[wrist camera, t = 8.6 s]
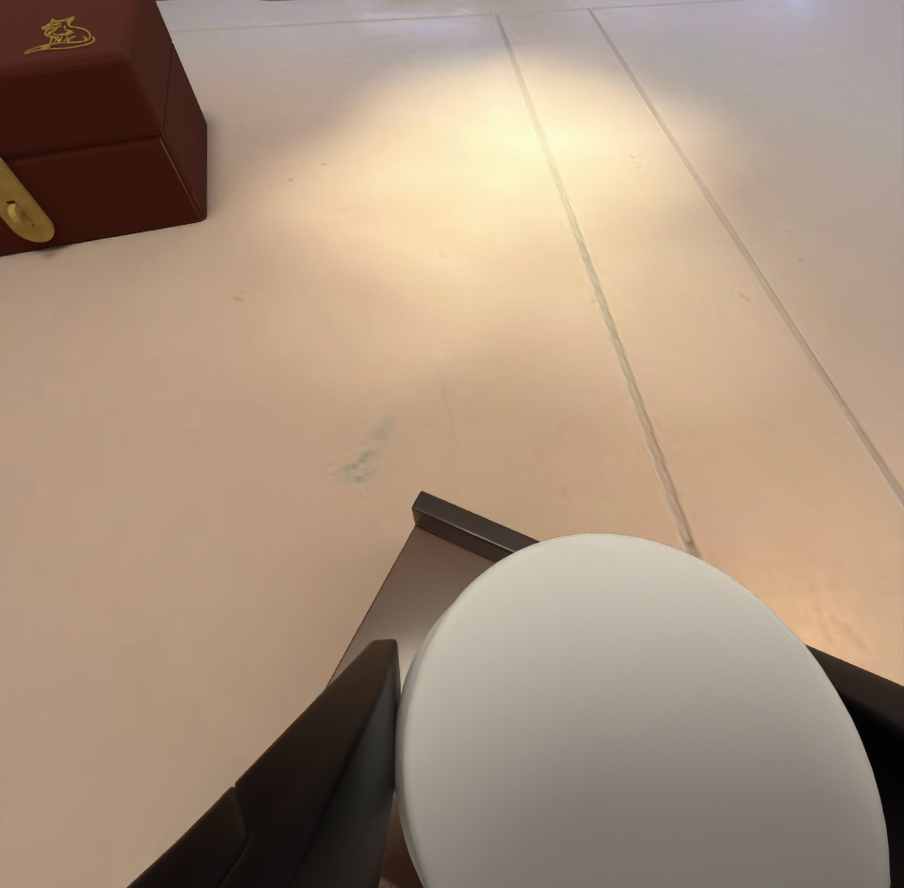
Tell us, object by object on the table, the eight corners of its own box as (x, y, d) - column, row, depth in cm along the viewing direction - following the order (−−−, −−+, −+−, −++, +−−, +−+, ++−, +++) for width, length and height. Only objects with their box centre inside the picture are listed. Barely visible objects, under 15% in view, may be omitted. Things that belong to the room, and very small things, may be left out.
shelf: (715, 1059, 13) (839, 1216, 9) (299, 788, 17) (241, 805, 12) (762, 692, 18) (857, 677, 14) (429, 540, 21) (421, 489, 17)
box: (-121, 289, 31) (-340, 120, 23) (-51, 160, 40) (-191, 2, 31) (206, 231, 34) (119, 60, 25) (207, 122, 42) (142, -34, 34)
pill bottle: (633, 658, 14) (877, 532, 6) (631, 915, 11) (1120, 1408, 3) (447, 618, 15) (427, 455, 7) (399, 850, 12) (251, 1092, 4)
